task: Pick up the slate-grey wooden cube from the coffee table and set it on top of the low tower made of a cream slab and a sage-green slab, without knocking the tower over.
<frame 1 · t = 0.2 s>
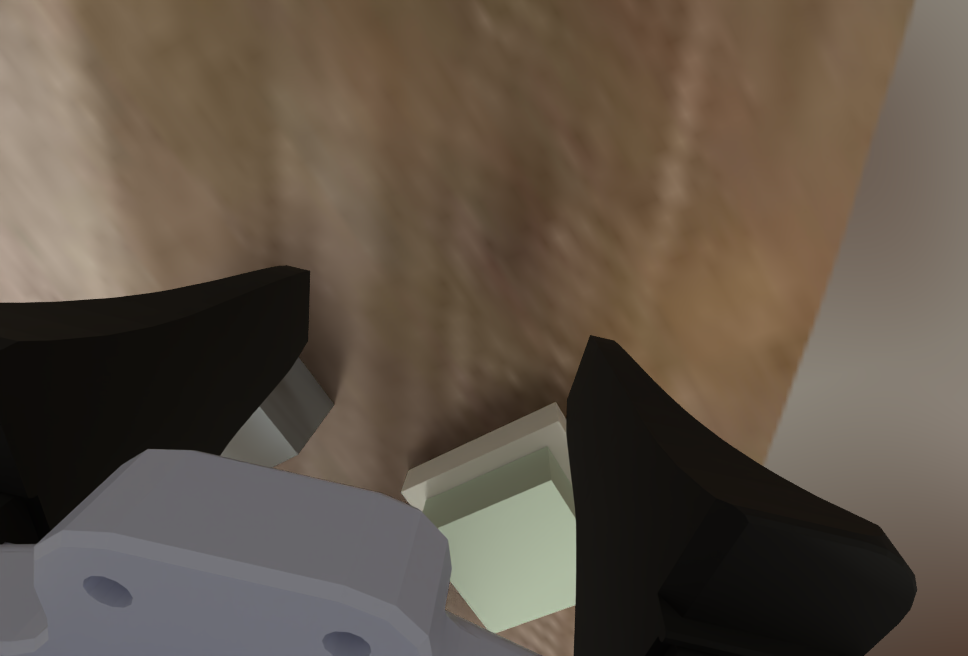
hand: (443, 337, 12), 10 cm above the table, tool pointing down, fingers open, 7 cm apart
slate cube: (275, 388, 25), on the table
tower top slab: (518, 524, 25), point 2 cm above the table, touching tower base slab
tower base slab: (520, 491, 27), on the table, touching tower top slab
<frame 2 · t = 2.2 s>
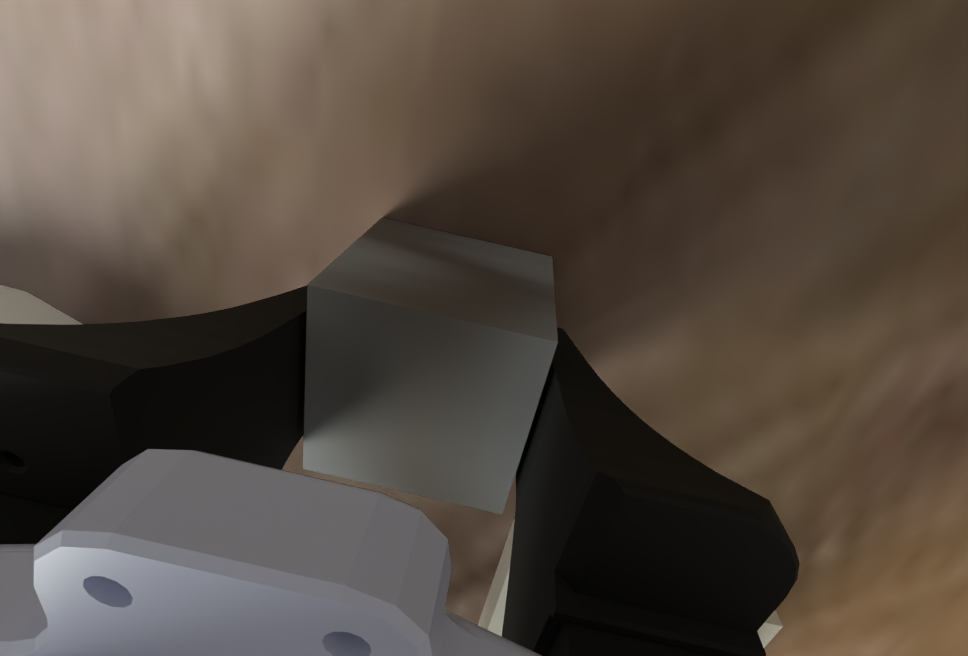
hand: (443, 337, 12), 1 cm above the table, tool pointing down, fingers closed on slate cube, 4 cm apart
slate cube: (452, 313, 13), on the table, touching gripper
tower base slab: (596, 602, 20), on the table, touching tower top slab
teardrop: (42, 415, 17), on the table
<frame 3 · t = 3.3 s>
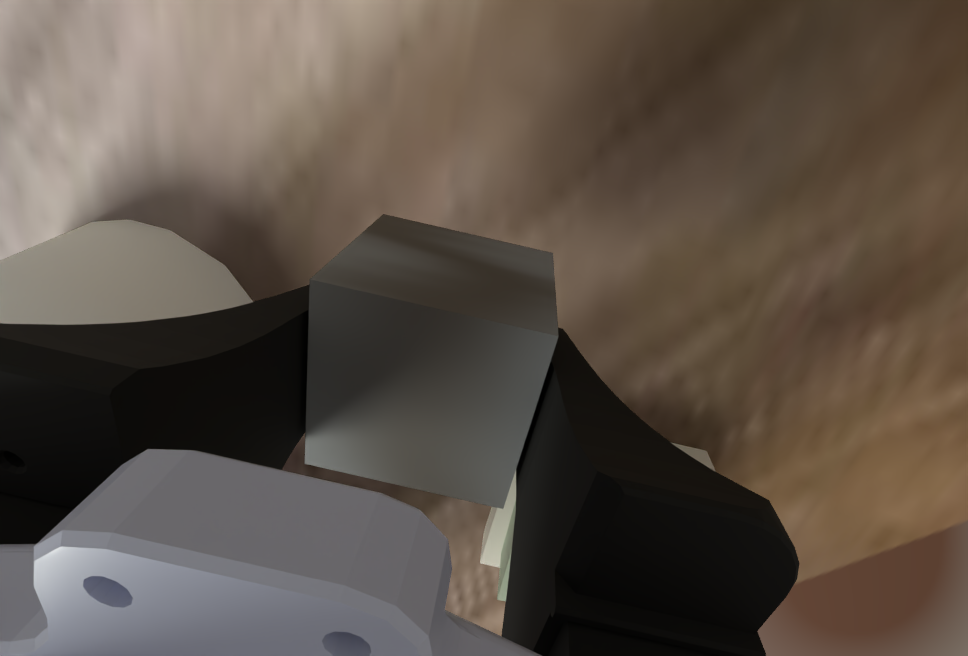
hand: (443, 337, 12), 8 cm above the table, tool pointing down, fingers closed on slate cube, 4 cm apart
slate cube: (453, 309, 13), point 6 cm above the table, touching gripper
tower top slab: (585, 520, 23), point 2 cm above the table
tower base slab: (584, 486, 25), on the table
teardrop: (165, 330, 23), on the table
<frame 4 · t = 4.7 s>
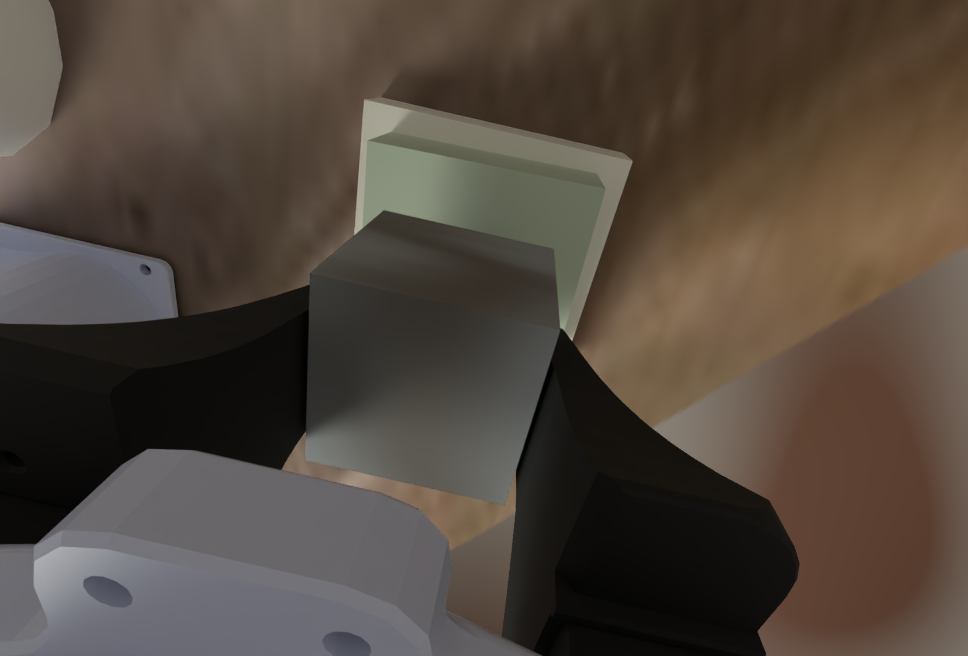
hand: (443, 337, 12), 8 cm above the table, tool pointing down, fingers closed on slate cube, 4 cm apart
slate cube: (454, 306, 13), point 7 cm above the table, touching gripper
tower top slab: (476, 251, 18), point 2 cm above the table, touching tower base slab
tower base slab: (480, 238, 20), on the table, touching tower top slab
when the fingers open (7 cm above the table, at t = 5.3 s): slate cube drops 2 cm, resting on tower top slab.
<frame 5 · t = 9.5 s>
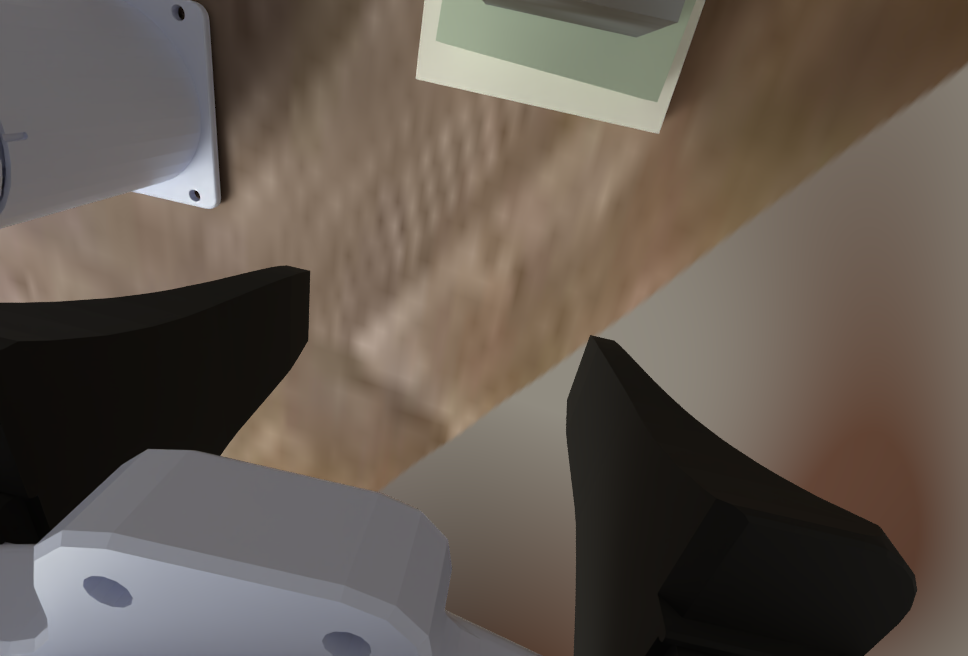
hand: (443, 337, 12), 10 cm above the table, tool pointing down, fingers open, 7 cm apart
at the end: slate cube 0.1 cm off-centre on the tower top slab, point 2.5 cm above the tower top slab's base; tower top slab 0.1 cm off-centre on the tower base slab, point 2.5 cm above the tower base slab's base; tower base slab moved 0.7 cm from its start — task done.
